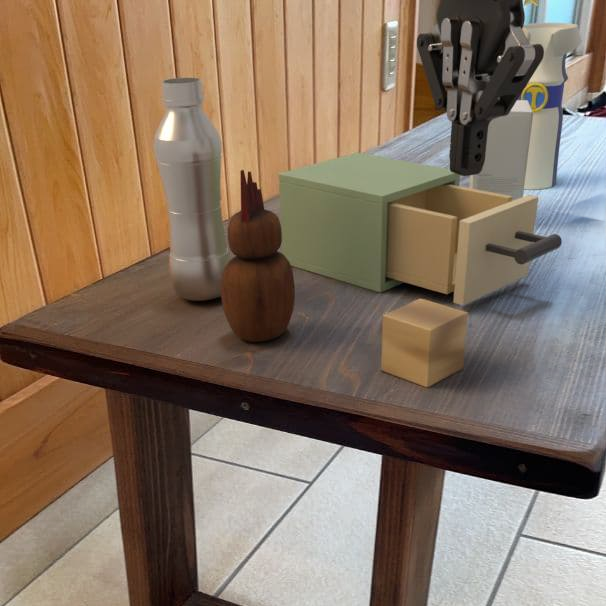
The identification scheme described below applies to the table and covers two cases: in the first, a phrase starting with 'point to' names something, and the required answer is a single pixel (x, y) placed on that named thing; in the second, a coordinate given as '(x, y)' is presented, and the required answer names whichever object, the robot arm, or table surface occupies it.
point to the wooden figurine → (256, 271)
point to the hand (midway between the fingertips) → (465, 172)
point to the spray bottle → (547, 98)
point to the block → (423, 342)
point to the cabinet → (348, 214)
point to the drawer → (463, 240)
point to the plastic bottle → (191, 190)
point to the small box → (506, 153)
